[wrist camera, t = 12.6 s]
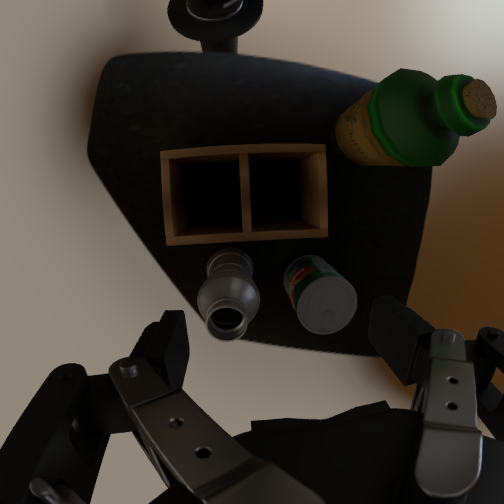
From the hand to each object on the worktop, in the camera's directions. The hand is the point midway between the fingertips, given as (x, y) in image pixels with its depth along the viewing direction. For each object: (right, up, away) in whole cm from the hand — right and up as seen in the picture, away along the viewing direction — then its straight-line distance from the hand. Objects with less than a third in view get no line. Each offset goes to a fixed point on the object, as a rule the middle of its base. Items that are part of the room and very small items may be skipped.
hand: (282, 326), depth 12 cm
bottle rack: (-2, +12, +30) cm, 33 cm away
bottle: (+15, +21, +29) cm, 39 cm away
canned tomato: (+8, -1, +34) cm, 35 cm away
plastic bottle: (-4, +1, +33) cm, 33 cm away
